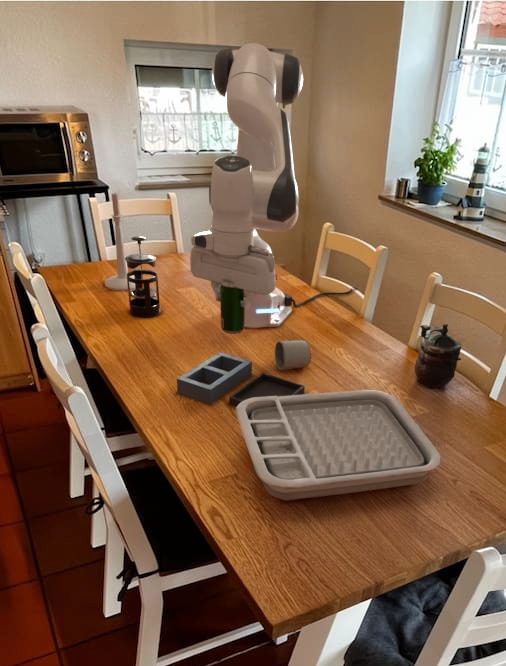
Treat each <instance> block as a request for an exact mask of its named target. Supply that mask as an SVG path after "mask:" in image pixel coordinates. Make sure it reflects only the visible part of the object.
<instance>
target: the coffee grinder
mask: <svg viewBox="0 0 506 666" xmlns="http://www.w3.org/2000/svg"><path fill="white" fill-rule="evenodd" d="M448 326H449V323H447V322H444V323H443V324H442V326H433V327H431V326H429V325H427V324H421V325H419V327H420V328H421V332H420V337H421V338H422V339H421V340H420V349H419V353H418V355H417V358H416V361H415V364H414V373H415V376H416V378H417V380H418V382H419V383H420V384H422V385H426V387H428V388H429V389H430V388H431V389H432V388H439V389H441V388H445V386H446V385H448V384H449V382H450V381H452V380H453V379H454V378H455V375H456V374H455V373H456V369H457V367H458V366H457V364H458V361H461V360H462V358H461V357H460V353H461V350H462V343H461V342H460V341H459V339H457V338H455V337H453V336H451V335H450V334H448V332H449V329H448ZM433 332H436V333H433ZM437 332H438V333H437Z"/></svg>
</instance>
